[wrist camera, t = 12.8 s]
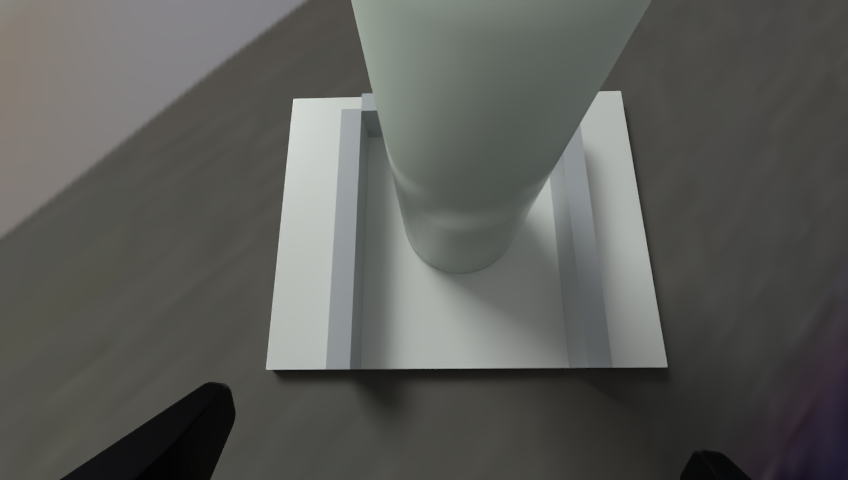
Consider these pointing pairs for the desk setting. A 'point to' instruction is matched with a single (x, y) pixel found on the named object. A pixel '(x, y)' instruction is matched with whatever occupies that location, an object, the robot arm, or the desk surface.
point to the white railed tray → (458, 293)
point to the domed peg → (482, 108)
